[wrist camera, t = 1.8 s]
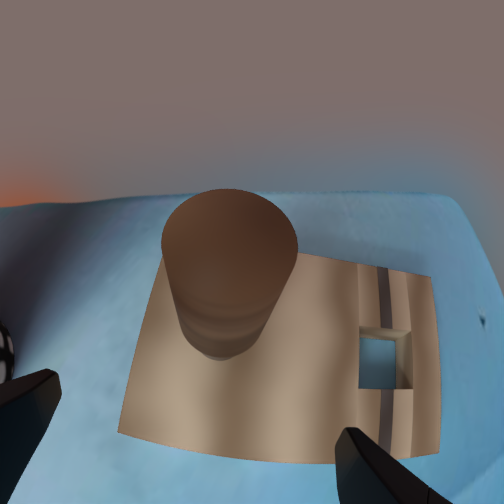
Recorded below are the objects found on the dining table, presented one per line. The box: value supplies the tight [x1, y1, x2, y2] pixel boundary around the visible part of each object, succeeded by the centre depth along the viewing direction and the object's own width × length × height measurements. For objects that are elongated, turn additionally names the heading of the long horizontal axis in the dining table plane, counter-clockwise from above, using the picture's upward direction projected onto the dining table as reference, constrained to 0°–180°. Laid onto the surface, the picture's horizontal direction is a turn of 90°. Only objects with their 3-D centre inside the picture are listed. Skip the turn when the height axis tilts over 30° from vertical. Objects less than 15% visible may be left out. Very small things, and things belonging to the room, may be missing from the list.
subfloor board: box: [117, 252, 441, 464], centre depth 20 cm, size 22×15×3 cm
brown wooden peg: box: [161, 189, 298, 361], centre depth 15 cm, size 4×4×11 cm
